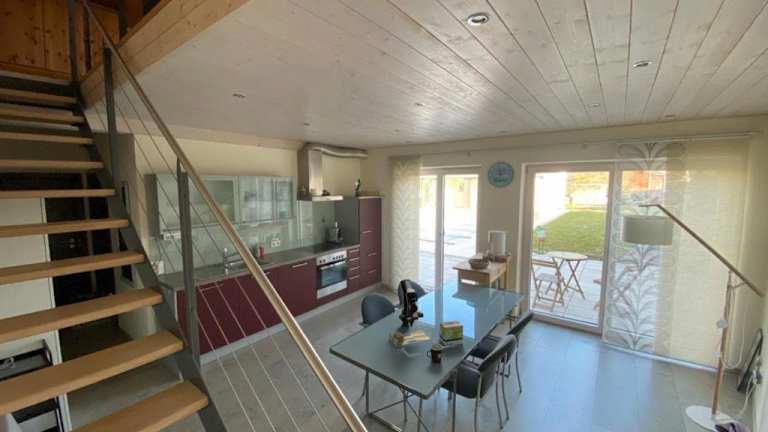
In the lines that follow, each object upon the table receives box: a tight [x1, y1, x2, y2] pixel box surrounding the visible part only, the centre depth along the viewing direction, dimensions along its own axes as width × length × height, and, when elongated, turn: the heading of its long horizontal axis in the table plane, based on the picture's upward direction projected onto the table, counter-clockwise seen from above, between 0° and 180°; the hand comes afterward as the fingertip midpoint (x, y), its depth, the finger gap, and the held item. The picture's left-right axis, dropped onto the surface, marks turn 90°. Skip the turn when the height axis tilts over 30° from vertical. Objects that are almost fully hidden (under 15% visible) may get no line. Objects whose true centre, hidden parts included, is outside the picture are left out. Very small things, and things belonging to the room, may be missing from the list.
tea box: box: [438, 320, 464, 347], centre depth 247 cm, size 15×10×15 cm, turn 105°
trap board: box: [389, 330, 431, 349], centre depth 251 cm, size 15×28×5 cm, turn 112°
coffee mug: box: [426, 343, 444, 364], centre depth 222 cm, size 12×9×10 cm
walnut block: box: [392, 331, 405, 343], centre depth 247 cm, size 6×6×5 cm
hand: (411, 326), depth 251 cm, fingers closed
